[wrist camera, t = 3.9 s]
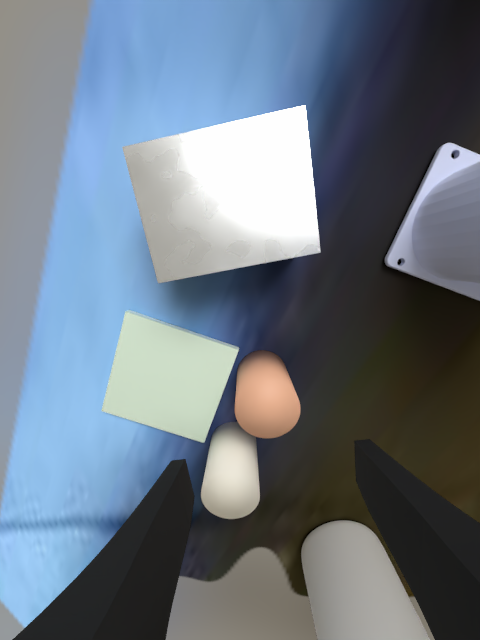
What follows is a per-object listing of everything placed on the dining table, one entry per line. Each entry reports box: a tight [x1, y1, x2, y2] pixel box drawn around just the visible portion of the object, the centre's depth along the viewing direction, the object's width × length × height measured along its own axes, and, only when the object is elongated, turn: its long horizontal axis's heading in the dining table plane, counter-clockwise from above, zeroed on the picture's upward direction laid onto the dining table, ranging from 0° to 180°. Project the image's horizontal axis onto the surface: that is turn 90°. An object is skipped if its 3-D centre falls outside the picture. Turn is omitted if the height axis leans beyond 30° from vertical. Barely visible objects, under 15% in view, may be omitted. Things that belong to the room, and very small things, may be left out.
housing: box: [122, 105, 320, 283], centre depth 13 cm, size 9×6×6 cm
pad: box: [102, 310, 239, 443], centre depth 19 cm, size 9×9×1 cm
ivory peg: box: [201, 422, 260, 519], centre depth 18 cm, size 4×4×5 cm
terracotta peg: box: [235, 350, 300, 438], centre depth 17 cm, size 4×4×5 cm
